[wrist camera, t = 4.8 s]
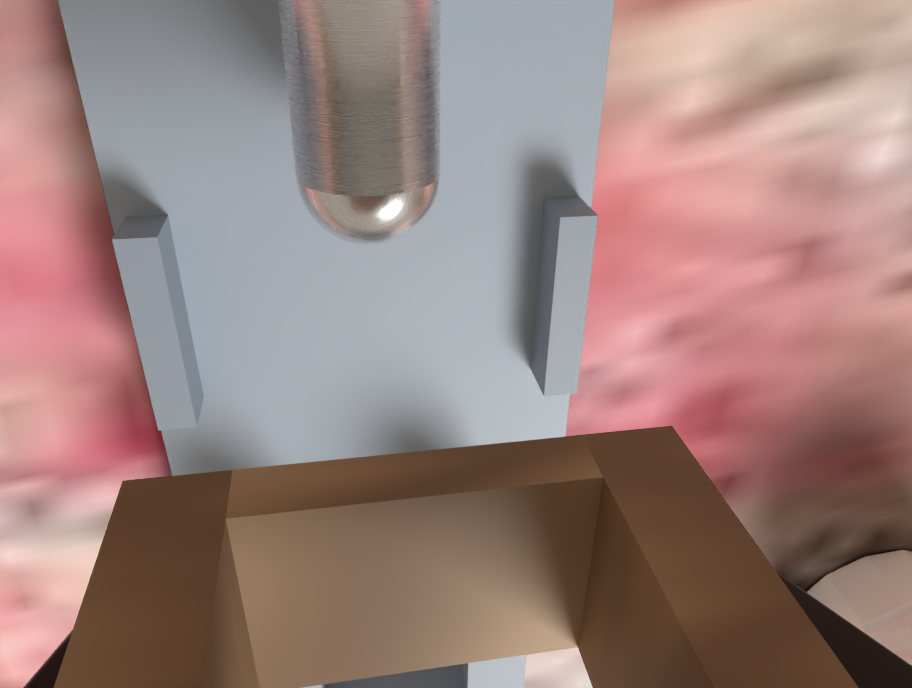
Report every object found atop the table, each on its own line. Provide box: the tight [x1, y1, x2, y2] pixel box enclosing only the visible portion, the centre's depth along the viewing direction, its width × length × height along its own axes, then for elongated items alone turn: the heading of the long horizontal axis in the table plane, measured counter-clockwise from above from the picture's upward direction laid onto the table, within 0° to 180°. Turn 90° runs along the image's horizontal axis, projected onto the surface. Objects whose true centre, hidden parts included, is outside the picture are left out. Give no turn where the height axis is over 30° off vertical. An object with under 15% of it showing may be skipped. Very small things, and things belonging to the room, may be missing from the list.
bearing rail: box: [58, 0, 615, 688], centre depth 14 cm, size 10×23×5 cm, turn 179°
